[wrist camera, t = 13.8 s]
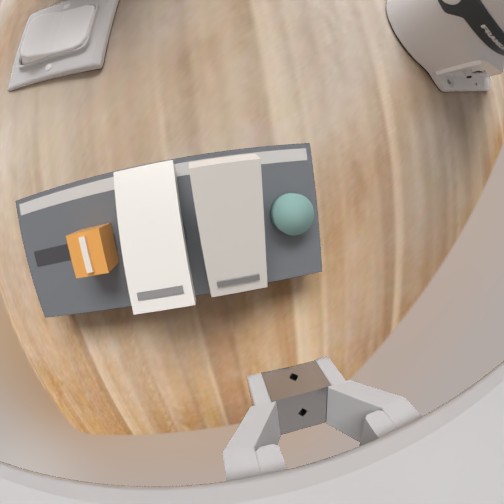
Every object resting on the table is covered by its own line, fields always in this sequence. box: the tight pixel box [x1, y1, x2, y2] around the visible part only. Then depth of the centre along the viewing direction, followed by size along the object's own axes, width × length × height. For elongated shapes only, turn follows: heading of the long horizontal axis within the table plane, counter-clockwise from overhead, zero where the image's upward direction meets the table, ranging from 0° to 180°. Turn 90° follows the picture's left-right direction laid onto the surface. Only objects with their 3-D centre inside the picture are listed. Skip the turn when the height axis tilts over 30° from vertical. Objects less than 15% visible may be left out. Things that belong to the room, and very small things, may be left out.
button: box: [270, 193, 314, 235], centre depth 22 cm, size 3×3×1 cm
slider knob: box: [66, 223, 119, 279], centre depth 19 cm, size 3×3×3 cm
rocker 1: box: [113, 160, 196, 315], centre depth 19 cm, size 4×10×2 cm, turn 8°
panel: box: [16, 143, 322, 318], centre depth 23 cm, size 26×11×5 cm, turn 98°
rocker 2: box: [189, 153, 267, 297], centre depth 20 cm, size 4×10×2 cm, turn 8°
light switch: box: [7, 0, 119, 91], centre depth 17 cm, size 11×4×13 cm
